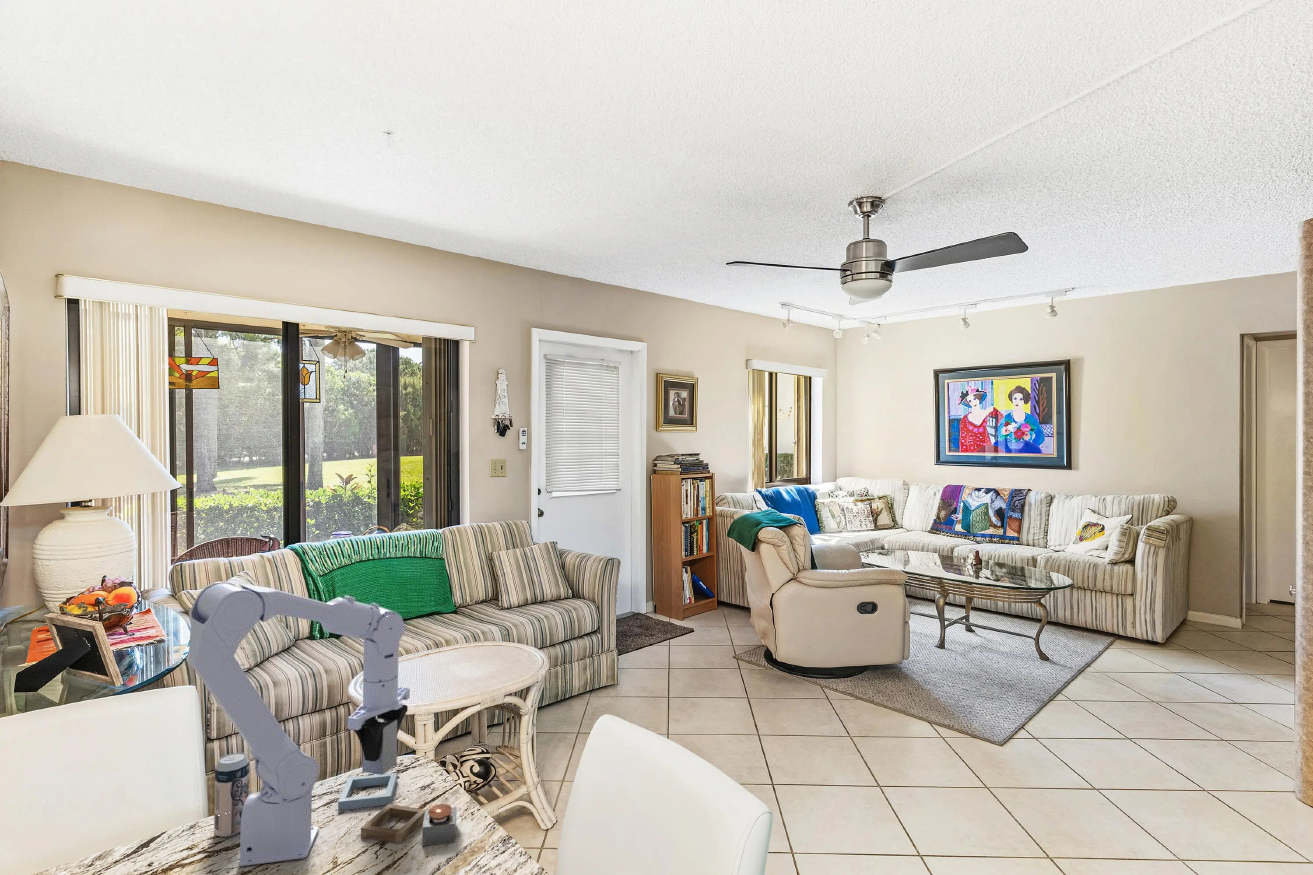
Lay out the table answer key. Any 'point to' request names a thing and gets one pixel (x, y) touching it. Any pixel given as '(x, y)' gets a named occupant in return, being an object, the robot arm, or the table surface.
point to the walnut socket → (388, 834)
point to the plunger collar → (439, 830)
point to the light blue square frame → (371, 799)
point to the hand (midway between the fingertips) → (379, 754)
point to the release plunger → (439, 813)
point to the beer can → (230, 793)
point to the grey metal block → (384, 749)
